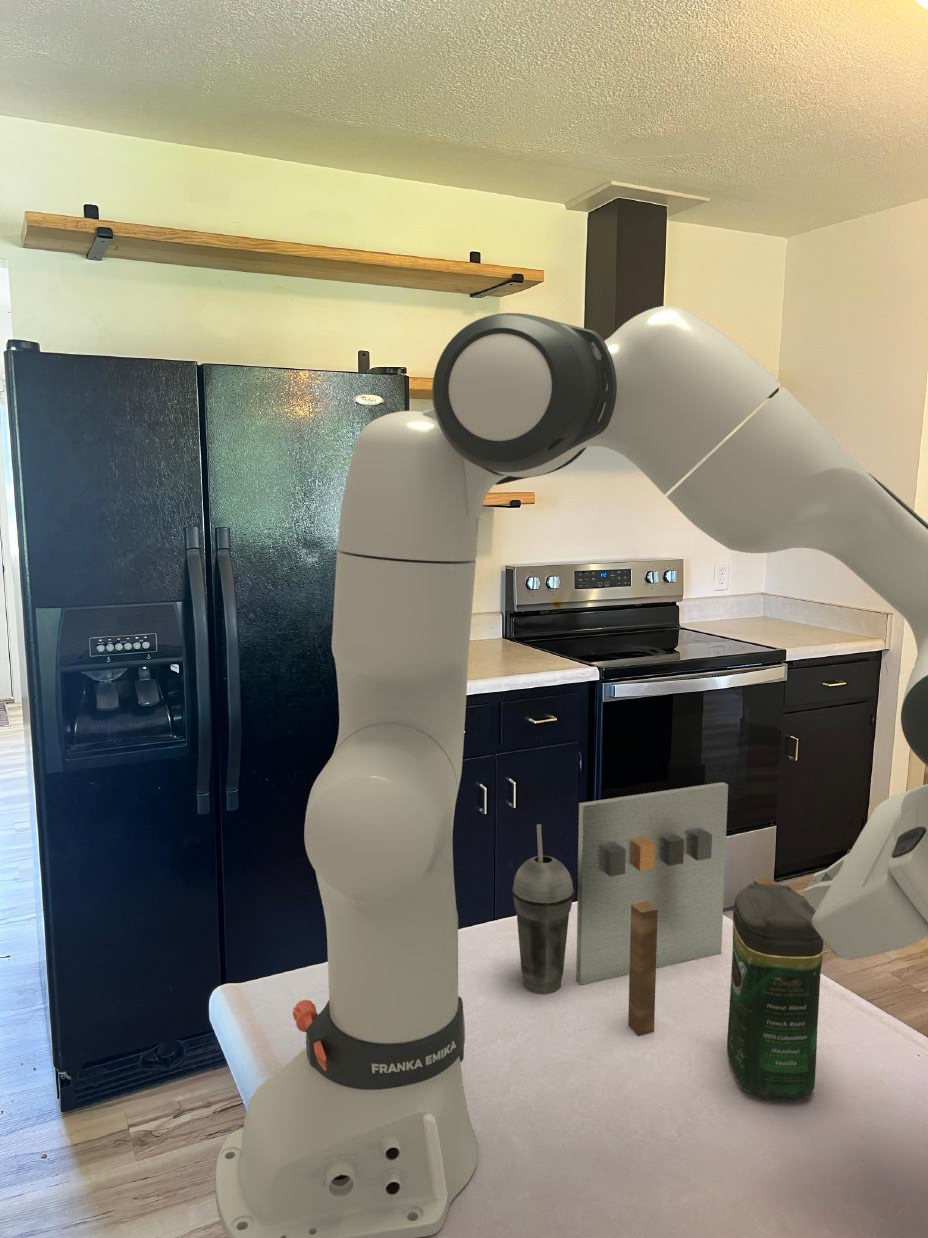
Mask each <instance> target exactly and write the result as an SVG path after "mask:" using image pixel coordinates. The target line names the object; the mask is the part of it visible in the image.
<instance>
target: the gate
mask: <svg viewBox="0 0 928 1238" xmlns="http://www.w3.org/2000/svg"><path fill="white" fill-rule="evenodd" d="M753 884H769V885H781V883H778V882H777V881H775V880H773V879H771V878H770V877H764V878H759V879H755V880H753ZM657 918H658V909H657V908H655V907H654V906H653V905H651V904H650V903H649V902H648V901H646V902H641V903H636V904H631V932H630V972H629V974H628V975H629V976H628V977H629V978H628V979H629V982H628V1013H627V1015H628V1016H627V1017H628V1019H627V1020H628V1021H627V1022H628V1025H627V1027H629V1029H631V1030H632V1032H633V1033H634V1034H635V1035H637V1036H638V1037H640V1036H644V1035H647V1034H651V1033H654V1032H655V1019H656V1018H655V1017H656V1016H655V1013H656V1011H655V1010H656V987H657V986H656V983H657V980H656V977H657V968H656V952H657Z"/></svg>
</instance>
